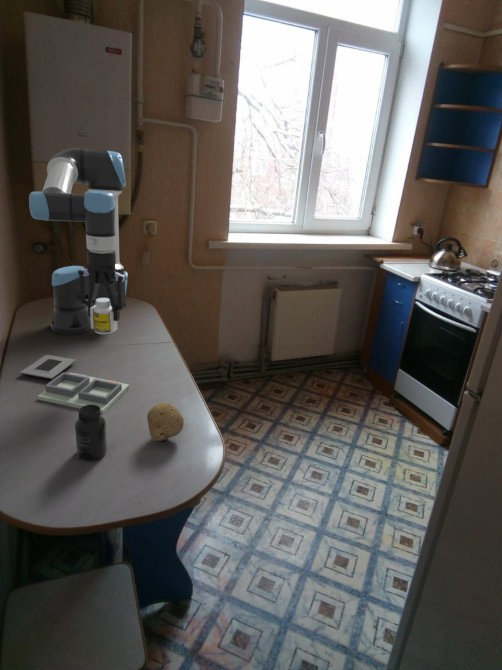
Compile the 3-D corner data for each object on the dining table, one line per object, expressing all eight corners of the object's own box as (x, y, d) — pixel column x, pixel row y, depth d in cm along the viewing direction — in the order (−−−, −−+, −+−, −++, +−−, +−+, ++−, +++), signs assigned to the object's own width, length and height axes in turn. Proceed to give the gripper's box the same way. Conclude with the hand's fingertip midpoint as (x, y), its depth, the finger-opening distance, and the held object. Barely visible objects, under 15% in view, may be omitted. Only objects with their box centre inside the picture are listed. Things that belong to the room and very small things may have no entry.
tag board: (69, 375, 140) (69, 366, 139) (129, 388, 136) (129, 378, 135) (38, 399, 126) (37, 389, 125) (103, 413, 123) (102, 403, 122)
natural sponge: (183, 428, 120) (184, 396, 116) (183, 449, 112) (184, 415, 108) (148, 428, 119) (148, 395, 115) (145, 449, 111) (145, 415, 107)
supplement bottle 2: (90, 332, 131) (89, 300, 127) (101, 326, 136) (100, 295, 132) (107, 336, 129) (105, 303, 126) (117, 330, 134) (116, 298, 131)
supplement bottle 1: (112, 453, 108) (111, 410, 104) (86, 465, 103) (83, 421, 99) (97, 440, 112) (95, 398, 108) (71, 451, 107) (67, 408, 103)
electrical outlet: (52, 384, 135) (51, 377, 135) (20, 378, 137) (19, 371, 136) (76, 365, 147) (75, 358, 147) (46, 360, 149) (46, 353, 148)
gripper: (62, 248, 122) (68, 328, 130) (125, 257, 118) (127, 338, 127) (78, 243, 128) (83, 320, 137) (138, 252, 125) (139, 329, 134)
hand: (104, 328), depth 132 cm, fingers closed on supplement bottle 2, 5 cm apart
